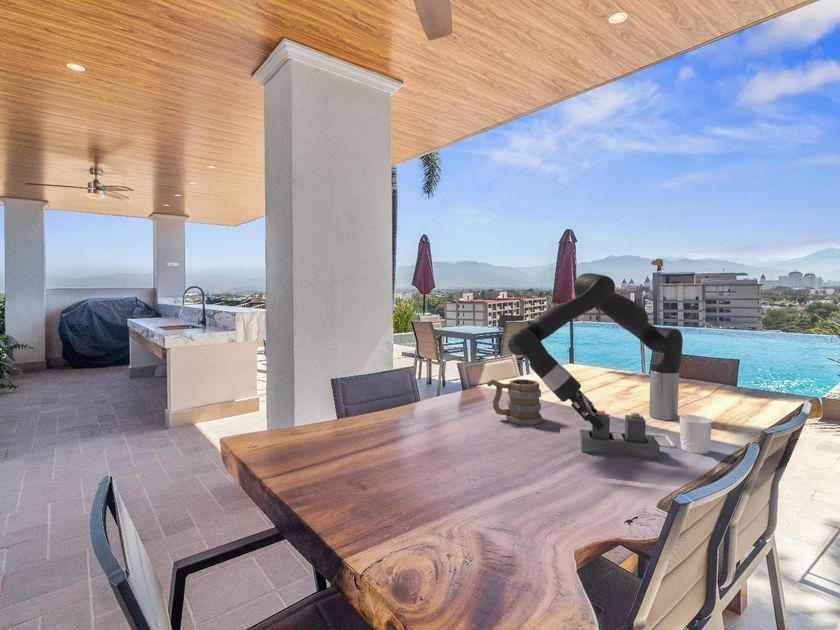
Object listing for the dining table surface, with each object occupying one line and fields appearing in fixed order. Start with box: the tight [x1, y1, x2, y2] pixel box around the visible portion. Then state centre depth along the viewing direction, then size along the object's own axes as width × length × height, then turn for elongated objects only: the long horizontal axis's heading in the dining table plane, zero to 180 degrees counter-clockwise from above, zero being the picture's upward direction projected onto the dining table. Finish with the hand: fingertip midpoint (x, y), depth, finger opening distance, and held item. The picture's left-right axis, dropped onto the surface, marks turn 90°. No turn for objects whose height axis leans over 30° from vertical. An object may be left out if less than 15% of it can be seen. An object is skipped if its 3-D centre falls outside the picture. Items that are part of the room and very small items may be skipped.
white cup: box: [679, 414, 713, 455], centre depth 123 cm, size 8×8×10 cm
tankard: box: [486, 378, 544, 426], centre depth 155 cm, size 20×13×15 cm, turn 84°
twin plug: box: [624, 412, 647, 443], centre depth 121 cm, size 4×4×11 cm
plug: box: [591, 409, 611, 440], centre depth 124 cm, size 4×4×11 cm
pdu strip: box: [579, 429, 661, 461], centre depth 123 cm, size 8×20×5 cm, turn 73°
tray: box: [645, 432, 676, 449], centre depth 131 cm, size 10×10×2 cm
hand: (601, 423), depth 123 cm, fingers open, 8 cm apart
